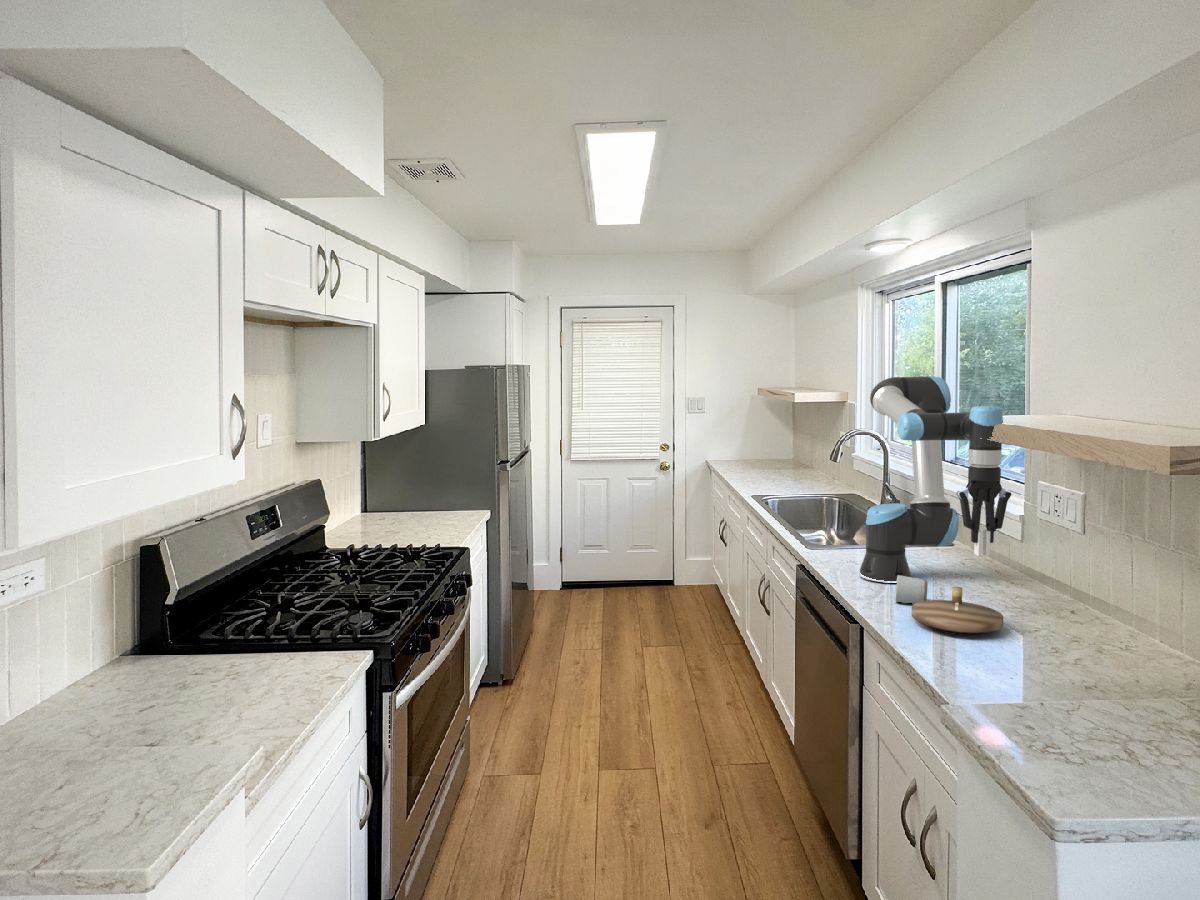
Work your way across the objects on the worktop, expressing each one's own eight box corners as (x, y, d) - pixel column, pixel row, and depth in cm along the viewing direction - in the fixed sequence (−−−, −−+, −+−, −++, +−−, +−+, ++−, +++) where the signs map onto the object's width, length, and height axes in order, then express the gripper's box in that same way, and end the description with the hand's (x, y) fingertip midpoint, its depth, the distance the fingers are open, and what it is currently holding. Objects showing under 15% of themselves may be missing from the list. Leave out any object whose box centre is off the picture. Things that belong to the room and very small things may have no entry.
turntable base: (927, 614, 198) (927, 609, 198) (986, 621, 192) (986, 615, 191) (924, 630, 185) (924, 624, 185) (987, 638, 179) (987, 632, 179)
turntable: (1004, 637, 174) (1005, 613, 174) (908, 625, 184) (909, 602, 183) (1001, 612, 193) (1002, 590, 192) (914, 602, 202) (914, 582, 202)
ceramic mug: (927, 608, 203) (928, 581, 202) (895, 605, 206) (895, 578, 206) (926, 599, 213) (927, 572, 212) (895, 596, 216) (896, 570, 215)
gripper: (1006, 464, 196) (1003, 551, 198) (950, 464, 197) (947, 551, 199) (1020, 467, 188) (1017, 558, 190) (961, 467, 189) (959, 558, 191)
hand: (981, 554), depth 195 cm, fingers closed
